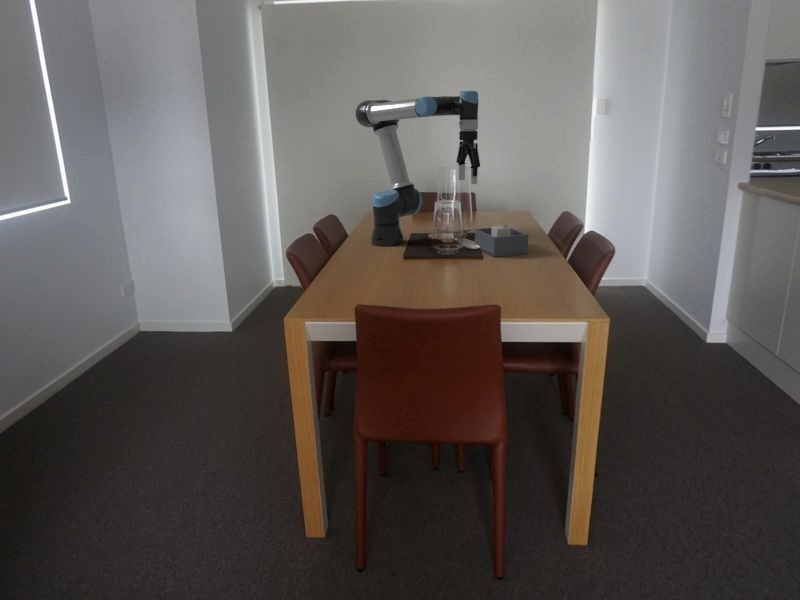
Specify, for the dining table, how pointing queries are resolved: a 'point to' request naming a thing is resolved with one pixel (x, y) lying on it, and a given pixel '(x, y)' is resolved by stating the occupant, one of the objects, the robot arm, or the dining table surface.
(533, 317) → the dining table surface
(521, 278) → the dining table surface
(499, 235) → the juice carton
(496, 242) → the bin
